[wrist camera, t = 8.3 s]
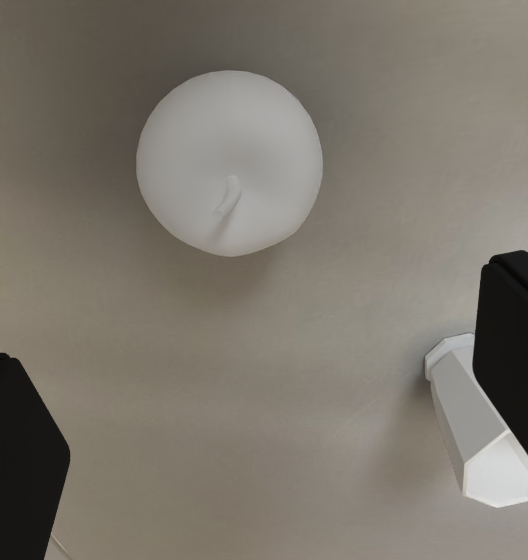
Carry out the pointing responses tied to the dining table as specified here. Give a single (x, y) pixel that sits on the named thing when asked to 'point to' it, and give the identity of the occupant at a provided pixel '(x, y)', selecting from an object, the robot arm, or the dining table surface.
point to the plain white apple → (230, 163)
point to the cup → (474, 428)
